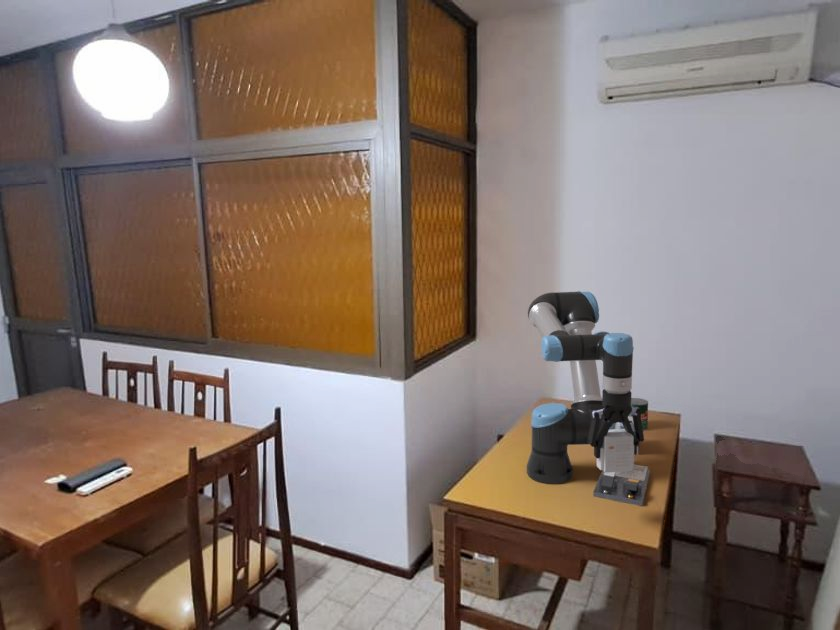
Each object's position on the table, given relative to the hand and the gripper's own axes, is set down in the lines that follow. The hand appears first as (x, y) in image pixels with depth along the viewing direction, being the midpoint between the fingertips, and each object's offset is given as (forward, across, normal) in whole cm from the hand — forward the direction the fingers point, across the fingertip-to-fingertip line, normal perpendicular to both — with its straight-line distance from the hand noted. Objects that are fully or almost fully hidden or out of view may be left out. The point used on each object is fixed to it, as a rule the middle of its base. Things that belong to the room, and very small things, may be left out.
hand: (615, 466), depth 150 cm
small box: (+1, 0, 0) cm, 1 cm away
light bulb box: (+15, +25, +41) cm, 50 cm away
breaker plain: (+12, +5, +13) cm, 18 cm away
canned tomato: (+16, +39, +59) cm, 72 cm away
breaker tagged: (+12, +10, +9) cm, 18 cm away
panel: (+15, +11, +16) cm, 24 cm away
